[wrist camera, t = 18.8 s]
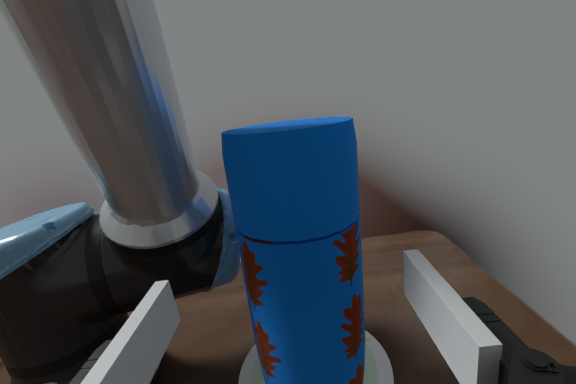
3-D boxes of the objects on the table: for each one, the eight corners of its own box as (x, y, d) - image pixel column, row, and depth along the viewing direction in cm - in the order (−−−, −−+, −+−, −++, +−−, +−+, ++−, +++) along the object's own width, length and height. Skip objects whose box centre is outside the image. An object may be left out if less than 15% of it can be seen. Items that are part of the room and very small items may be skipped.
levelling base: (430, 413, 29) (430, 380, 28) (292, 539, 22) (284, 502, 21) (330, 323, 43) (327, 298, 42) (225, 383, 36) (218, 355, 34)
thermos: (242, 368, 32) (196, 134, 25) (312, 316, 38) (291, 119, 31) (314, 448, 24) (276, 135, 17) (388, 365, 30) (383, 114, 23)
